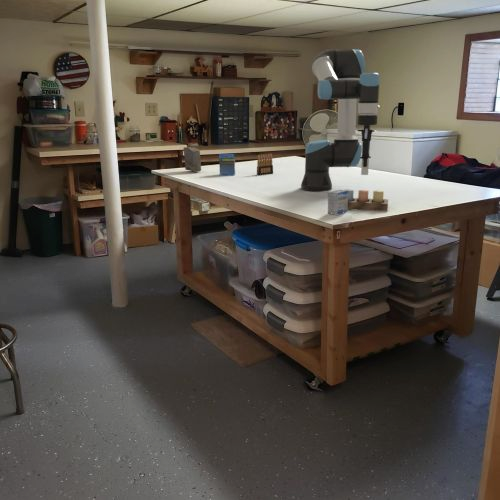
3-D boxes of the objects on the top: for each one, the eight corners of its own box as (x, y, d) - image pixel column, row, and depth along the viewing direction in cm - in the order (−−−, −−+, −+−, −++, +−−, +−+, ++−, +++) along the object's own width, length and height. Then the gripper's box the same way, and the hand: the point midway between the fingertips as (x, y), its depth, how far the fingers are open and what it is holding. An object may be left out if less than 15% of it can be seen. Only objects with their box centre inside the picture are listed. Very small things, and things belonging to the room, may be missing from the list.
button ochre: (372, 205, 210) (373, 192, 209) (373, 203, 214) (373, 190, 212) (382, 205, 209) (383, 192, 208) (382, 203, 213) (383, 190, 211)
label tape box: (235, 174, 303) (235, 153, 299) (234, 175, 299) (234, 154, 295) (220, 174, 303) (220, 153, 300) (219, 175, 300) (218, 154, 296)
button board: (337, 208, 212) (337, 201, 211) (339, 204, 220) (339, 197, 219) (387, 211, 207) (387, 203, 206) (387, 206, 215) (388, 199, 214)
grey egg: (342, 203, 213) (343, 191, 212) (343, 201, 217) (344, 189, 215) (352, 204, 212) (353, 191, 211) (353, 202, 216) (354, 189, 214)
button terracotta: (357, 204, 212) (358, 191, 210) (358, 202, 215) (358, 189, 214) (367, 204, 211) (368, 192, 209) (368, 202, 214) (368, 190, 213)
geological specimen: (201, 172, 310) (200, 147, 306) (192, 173, 307) (191, 148, 302) (193, 170, 319) (192, 146, 314) (184, 171, 315) (183, 146, 311)
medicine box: (336, 215, 201) (337, 193, 199) (327, 213, 204) (327, 192, 201) (347, 211, 207) (348, 190, 204) (338, 210, 210) (338, 189, 207)
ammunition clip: (271, 173, 305) (271, 152, 301) (273, 173, 303) (273, 153, 300) (256, 175, 299) (256, 154, 295) (258, 175, 297) (258, 154, 294)
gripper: (376, 115, 196) (373, 177, 202) (378, 114, 208) (374, 172, 214) (356, 115, 197) (353, 176, 204) (359, 114, 210) (356, 172, 216)
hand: (364, 174), depth 209 cm, fingers closed
